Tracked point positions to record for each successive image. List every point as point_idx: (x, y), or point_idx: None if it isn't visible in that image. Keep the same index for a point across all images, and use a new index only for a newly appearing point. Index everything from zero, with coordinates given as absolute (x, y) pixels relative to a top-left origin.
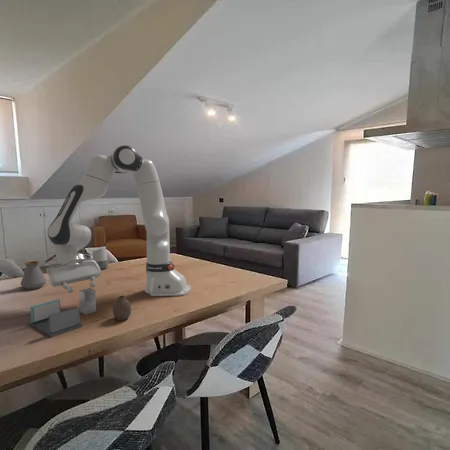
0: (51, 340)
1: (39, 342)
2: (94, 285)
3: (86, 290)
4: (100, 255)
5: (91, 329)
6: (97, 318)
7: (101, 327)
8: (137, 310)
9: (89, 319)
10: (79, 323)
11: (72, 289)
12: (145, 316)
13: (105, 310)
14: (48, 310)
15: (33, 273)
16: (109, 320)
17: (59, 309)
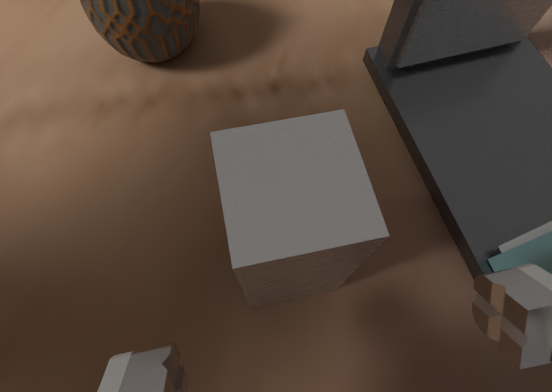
0: None
1: (546, 15)
2: (131, 352)
3: (303, 179)
4: None
5: (328, 12)
6: (267, 109)
7: (283, 8)
8: (30, 89)
9: None
10: (379, 50)
11: (489, 275)
12: (57, 4)
13: (178, 202)
14: None
15: None
16: (222, 53)
17: (521, 236)
